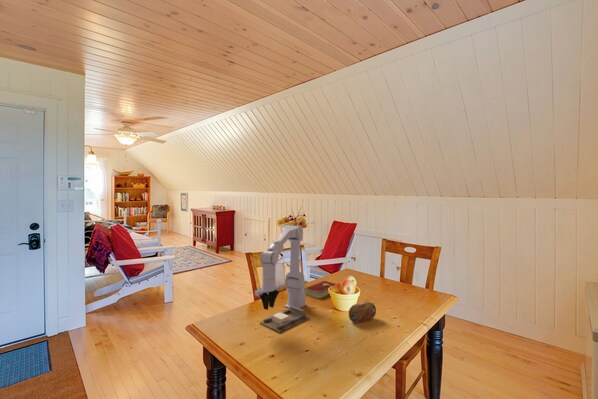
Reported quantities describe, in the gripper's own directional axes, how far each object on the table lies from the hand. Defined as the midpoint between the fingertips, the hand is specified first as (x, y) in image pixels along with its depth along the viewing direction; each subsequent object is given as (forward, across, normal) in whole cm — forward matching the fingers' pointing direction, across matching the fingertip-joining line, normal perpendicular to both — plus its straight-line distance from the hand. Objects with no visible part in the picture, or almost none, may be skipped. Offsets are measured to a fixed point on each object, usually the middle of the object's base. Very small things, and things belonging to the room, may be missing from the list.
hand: (268, 308), depth 130 cm
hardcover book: (+10, -54, -12) cm, 56 cm away
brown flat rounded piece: (+10, -36, +26) cm, 46 cm away
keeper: (+9, -8, 0) cm, 12 cm away
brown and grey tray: (+9, -10, 0) cm, 14 cm away
